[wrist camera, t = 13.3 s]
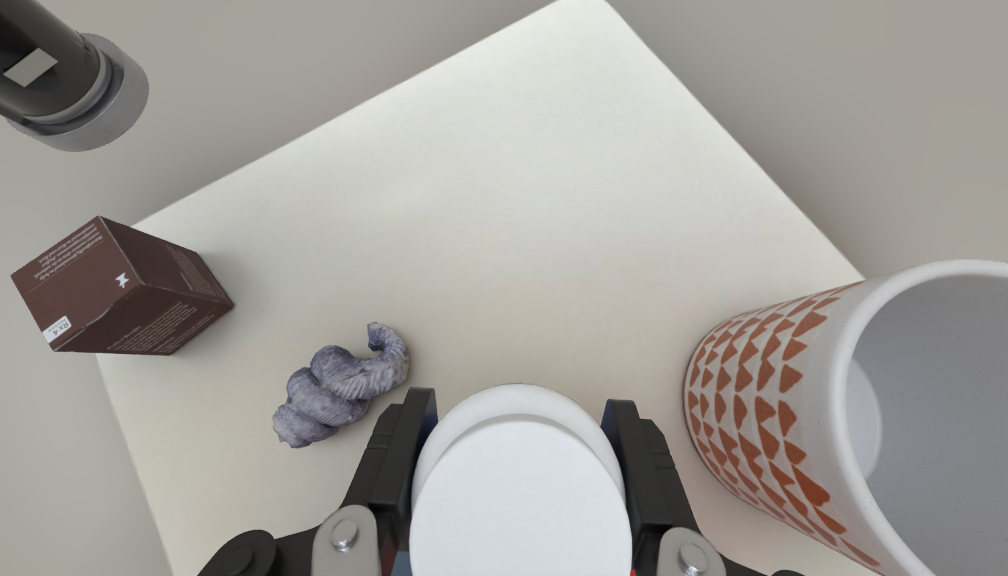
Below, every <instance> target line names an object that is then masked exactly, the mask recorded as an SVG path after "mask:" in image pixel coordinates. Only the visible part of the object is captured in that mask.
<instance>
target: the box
mask: <svg viewBox="0 0 1008 576" xmlns="http://www.w3.org/2000/svg"><path fill="white" fill-rule="evenodd" d="M11 278H12V280H13V282H14V283H15V285H16V287H17V289H18V290H19V292H20V294H21V296H22V298H23V299H24V301H25V303H26V305H27V306H28V308H29V310H30V312H31V314H32V315H33V317H34V319H35V321H36V323H37V325H38V326H39V328H40V330H41V332H42V334H43V336H44V338H45V339H46V341H47V342H48V344H49V345H50V347H51V348H52V350H53V351H55V352H58V351H59V352H68V351H69V352H71V351H73V352H85V353H114V354H140V355H164V356H169V355H171V354H172V353H173V352H175V351H176V350H177V349H178V348H180V347H181V346H182V345H184V344H185V343H186V342H188V341H189V340H190V339H192V338H193V337H194V336H195V335H197V334H198V333H199V332H201V331H202V330H203V329H204V328H206V327H207V326H208V325H210V324H211V323H212V322H214V321H215V320H216V319H217V318H219V317H220V316H221V315H223V314H224V313H225V312H227V311H228V310H229V309H230V308H232V307H233V303H232V302H231V301H230V299H229V298H228V296H227V295H226V293H225V292H224V291H223V289H222V288H221V287H220V285H219V284H218V282H217V281H216V279H215V278H214V277H213V275H212V274H211V272H210V271H209V270H208V268H207V267H206V265H205V264H204V262H203V261H202V260H201V258H200V257H199V256H198V254H197V253H196V252H194V251H192V250H189V249H186V248H184V247H181V246H178V245H176V244H173V243H170V242H168V241H166V240H162V239H160V238H157V237H154V236H152V235H149V234H146V233H144V232H141V231H139V230H136V229H134V228H131V227H128V226H126V225H123V224H120V223H116V222H114V221H111V220H109V219H107V218H104V217H102V216H96V217H95V218H94V219H92V220H91V221H89V222H88V223H87V224H85V225H84V226H82V227H81V228H79V229H78V230H76V231H75V232H73V233H72V234H70V235H69V236H68V237H66V238H65V239H63V240H62V241H60V242H59V243H57V244H56V245H54V246H53V247H51V248H50V249H49V250H47V251H46V252H44V253H43V254H41V255H40V256H38V257H37V258H35V259H34V260H32V261H31V262H29V263H28V264H26V265H25V266H23V267H22V268H21V269H19V270H17V271H16V272H15V273H13V274H12V275H11Z"/></svg>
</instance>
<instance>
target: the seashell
mask: <svg viewBox="0 0 1008 576" xmlns="http://www.w3.org/2000/svg"><path fill="white" fill-rule="evenodd" d="M368 334H369V344H368V347H369V348H370V349H371V350H372V351H377V350H378V349H379V350H381V351H383V352H382V353H381V354H380V355H379V356H378V357H377V358H375V359H371V358H368V359H367V360H362V359H358V358H355V357H353V356H352V355H351V354H350V352H349V351H348V350H346V349H343V348H341V347H339V346H336V345H335V346H325V347H324V348H322V349H321V350H320V351H318V352H317V353H316V354H315V355H314V357H313V359H312V361H311V363H310V364H311V367H310V368H306V367H304V368H301V369H300V370H298V371H296V372H295V373H294V374H293V375H292V376H291V377H290V379H289V380H288V384H287V393H288V398H287V401H286V403H285V405H281V406H280V407H278V410H277V411H276V412H275V414H274V415H273V422H274V426H273V429H274V430H275V431H276V432H277V433H278V435H279V440H280V443H281V442H283V441H287V442H288V443H289V445H290V446H291V448H301V447H306V446H309V445H310V444H311V443H312V442H316V441H321V440H324V439H327V438H328V437H330V436H332V435H334V434H335V433H336V432H337V431H338V429H339V428H340V426H343V425H349V424H352V423H354V422H356V421H358V420H360V419H361V418H362V417H363V416H364V414H366V413H367V410H368V407H369V404H370V399H371V398H372V397H373V396H376V397H377V396H379V395H380V394H384V393H385V392H388V391H390V390H392V389H394V388H395V387H398V386H399V385H400V384H402V383H403V382H404V381H405V379H406V378H407V370H408V367H409V353H408V348H407V347H406V346H405V344H404V343H403V341H402V339H401V338H399V337H398V336H397V335H396V334H395V332H394V331H393V330H392V329H390V328H389V327H387V326H385V325H380V324H378V323H377V322H373V323H370V324H368Z"/></svg>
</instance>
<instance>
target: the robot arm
mask: <svg viewBox="0 0 1008 576" xmlns="http://www.w3.org/2000/svg"><path fill="white" fill-rule="evenodd" d="M110 79H111V64H110V61H109V59H108V57H107V55H106V54H105V53H104V52H103V51H102V50H101V49H99V48H98V47H97V46H96V45H94V44H93V43H92V42H90V41H89V40H87V39H86V38H84V37H83V36H82V35H81V34H79V33H78V32H77V31H75V30H74V29H72V28H71V27H70V26H68V25H67V24H66V23H65V22H63V21H62V20H61V19H60V18H58V17H57V16H56V15H55V14H53V13H52V12H51V11H50V10H48V9H47V8H46V7H45V6H43V5H42V4H41V3H40V2H38V1H37V0H0V115H2V116H4V117H6V118H8V119H9V120H11V121H13V122H15V123H17V124H19V125H21V126H26V125H28V124H31V123H38V124H57V123H62V122H66V121H69V120H71V119H74V118H76V117H78V116H80V115H82V114H83V113H85V112H86V111H88V110H89V109H90V108H92V107H93V106H94V105H95V104H96V103H97V102H98V101H99V100H100V98H101V97H102V96H103V94H104V93H105V91H106V89H107V87H108V85H109V82H110ZM437 424H438V416H437V407H436V397H435V390H434V388H418V387H410V388H409V390H408V392H407V395H406V398H405V400H404V403H403V404H391V405H390V406H389V407H388V408H387V409H386V410H385V411H384V412H383V413H382V414H381V415H380V416H379V418H378V421H377V423H376V425H375V428H374V430H373V434H372V436H371V437H370V440H369V442H368V444H367V449H365V451H364V454H363V456H362V459H361V461H360V463H359V466H358V468H357V470H356V473H355V475H354V477H353V480H352V482H351V485H350V487H349V489H348V492H347V494H346V496H345V499H344V500H343V502H342V504H341V506H340V507H339V508H338V510H337V511H335V512H334V513H332V514H331V515H330V516H329V517H328V518H327V519H326V520H325V521H324V522H323V523H322V524H320V525H319V526H317V527H314V528H312V529H309V530H307V531H303V532H299V533H296V534H292V535H289V536H285V537H281V538H278V539H274V538H273V536H272V535H271V534H270V533H269V532H267V531H264V530H251V531H247V532H244V533H242V534H240V535H237V536H236V537H234V538H232V539H231V540H230V541H228V542H227V543H226V544H224V545H223V546H222V547H221V548H220V549H219V550H218V551H217V552H216V553H215V555H214V556H213V557H212V558H211V559H210V561H209V562H208V563H207V564H206V566H205V567H204V568H203V569H202V570H201V572H200V573H199V574H198V575H197V576H392V570H393V566H394V562H395V559H396V555H397V551H401V552H409V538H410V526H411V521H412V511H411V492H412V482H413V477H414V472H415V468H416V465H417V461H418V458H419V456H420V453H421V451H422V448H423V446H424V444H425V442H426V440H427V439H428V437H429V435H430V434H431V432H432V431H433V429H434V428H435V427H436V425H437ZM600 428H601V429H602V430H603V432H604V434H605V435H606V437H607V439H608V440H609V442H610V444H611V446H612V449H613V451H614V453H615V456H616V458H617V460H618V463H619V466H620V469H621V473H622V476H623V481H624V487H625V495H626V511H627V514H628V518H629V524H630V530H631V536H632V563H631V570H635V574H636V576H767V575H764V574H762V573H759V572H757V571H754V570H752V569H750V568H747V567H745V566H742V565H740V564H738V563H735V562H733V561H731V560H729V559H728V558H726V557H724V556H723V555H722V554H720V553H719V552H718V551H717V550H716V549H715V548H714V546H713V545H712V544H711V543H710V542H709V541H708V540H707V539H706V538H705V537H704V536H703V535H702V533H701V532H700V530H699V528H698V526H697V523H696V521H695V518H694V516H693V513H692V510H691V507H690V505H689V502H688V499H687V497H686V494H685V491H684V489H683V486H682V483H681V480H680V478H679V475H678V472H677V470H676V469H675V464H674V461H673V459H672V456H671V455H670V451H669V448H668V445H667V443H666V440H665V437H664V435H663V433H662V432H661V431H660V430H659V428H658V427H657V426H656V425H655V424H654V422H653V421H652V420H650V419H640V418H639V414H638V411H637V408H636V405H635V403H634V402H633V401H632V400H615V399H608V400H607V403H606V406H605V411H604V415H603V419H602V423H601V427H600ZM772 576H804V575H802V574H800V573H798V572H794V571H790V570H780V571H777V572H775V573H774V574H773V575H772Z"/></svg>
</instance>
